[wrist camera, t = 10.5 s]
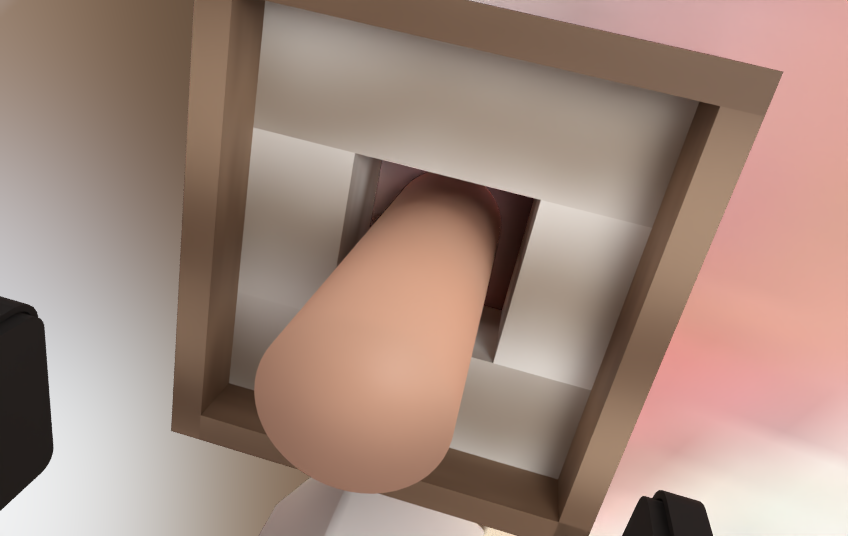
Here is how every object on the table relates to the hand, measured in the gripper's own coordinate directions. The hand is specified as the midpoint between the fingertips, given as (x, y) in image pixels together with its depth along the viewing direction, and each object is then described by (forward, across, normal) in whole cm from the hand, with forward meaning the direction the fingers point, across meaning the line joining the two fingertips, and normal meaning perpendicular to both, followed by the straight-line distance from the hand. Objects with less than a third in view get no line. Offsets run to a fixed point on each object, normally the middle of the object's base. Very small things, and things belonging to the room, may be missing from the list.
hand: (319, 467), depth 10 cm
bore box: (+14, 0, +1) cm, 14 cm away
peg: (+14, 0, +1) cm, 15 cm away
